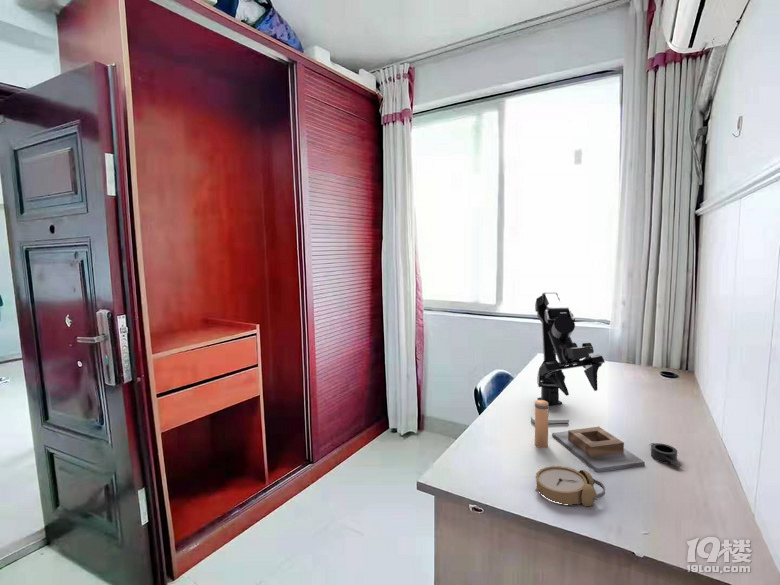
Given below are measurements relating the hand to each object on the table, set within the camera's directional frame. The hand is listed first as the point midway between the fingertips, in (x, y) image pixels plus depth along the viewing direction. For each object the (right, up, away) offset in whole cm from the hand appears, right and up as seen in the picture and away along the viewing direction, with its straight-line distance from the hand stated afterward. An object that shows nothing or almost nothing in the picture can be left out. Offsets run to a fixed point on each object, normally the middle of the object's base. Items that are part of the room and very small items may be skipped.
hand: (581, 392), depth 116 cm
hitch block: (+2, -15, -4) cm, 16 cm away
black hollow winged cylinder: (+18, -16, -9) cm, 25 cm away
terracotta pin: (-12, -15, 0) cm, 19 cm away
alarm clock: (-14, -18, -23) cm, 33 cm away
